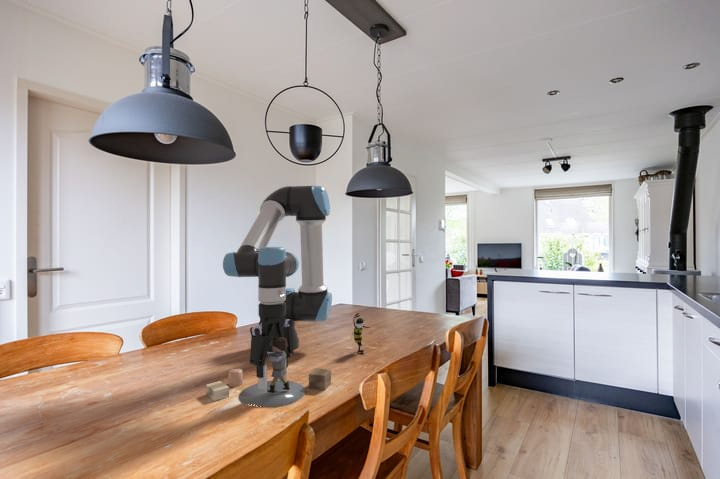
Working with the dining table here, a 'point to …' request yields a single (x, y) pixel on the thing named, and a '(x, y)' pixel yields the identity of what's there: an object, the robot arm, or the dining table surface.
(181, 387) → the dining table surface
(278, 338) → the toy
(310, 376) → the walnut block
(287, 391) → the plate
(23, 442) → the dining table surface
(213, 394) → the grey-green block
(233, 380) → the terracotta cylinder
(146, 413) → the dining table surface
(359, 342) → the toy
